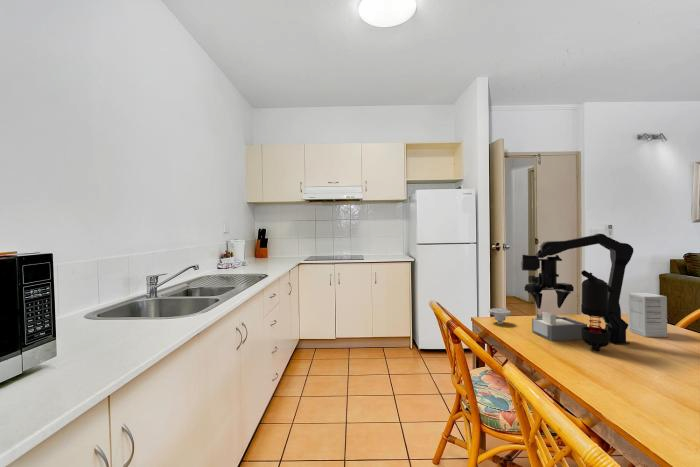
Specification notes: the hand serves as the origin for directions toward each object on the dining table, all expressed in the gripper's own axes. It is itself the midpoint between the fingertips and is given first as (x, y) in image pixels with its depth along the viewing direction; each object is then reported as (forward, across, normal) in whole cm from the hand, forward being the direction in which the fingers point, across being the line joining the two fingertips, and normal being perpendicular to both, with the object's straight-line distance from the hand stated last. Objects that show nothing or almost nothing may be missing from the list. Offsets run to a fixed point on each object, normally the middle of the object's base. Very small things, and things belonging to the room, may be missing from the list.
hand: (549, 308), depth 146 cm
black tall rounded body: (+12, -6, +18) cm, 23 cm away
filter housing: (+12, -5, -3) cm, 13 cm away
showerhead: (+12, +10, -21) cm, 26 cm away
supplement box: (+12, -42, +4) cm, 44 cm away
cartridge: (+10, -3, 0) cm, 11 cm away
